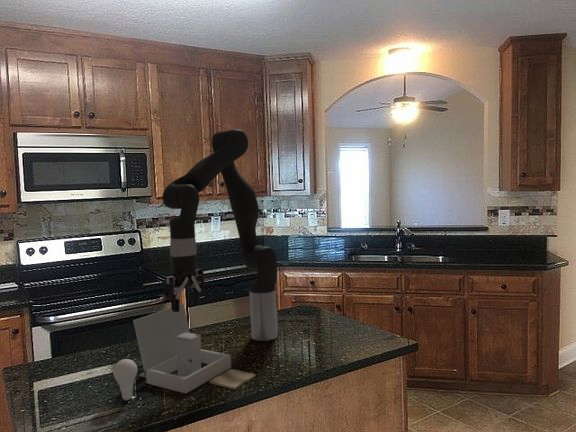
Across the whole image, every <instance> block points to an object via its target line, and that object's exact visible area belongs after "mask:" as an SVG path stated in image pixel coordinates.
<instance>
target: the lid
mask: <svg viewBox="0 0 576 432" xmlns="http://www.w3.org/2000/svg"><path fill="white" fill-rule="evenodd" d="M179 306H180V311H179V312H173V311H172V309H171V307H168V308H165V309H163V310H160V311H157V312H154V313H150V314H148V315H146V316H145V315H144V316H142V317H139V318H136V319H133V320H132V322H133V327H134V331H135V335H136V339H137V344H138V345H137V346H138V349H139V353H140V357H141V361H142V368H143V371H144V370H146V369H149V368H151V367H153V366H155V365H157V364H159V363H161V362H164V361H166V360H168V359H170V358H172V357H174V356H177V336H179V335H181V334H183V333H185V332H186V333H191V331H190V327H189V326H190V325H189V322H188V318H187V314H186V309H185V304H184V303H179Z"/></svg>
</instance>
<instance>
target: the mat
mask: <svg viewBox="0 0 576 432" xmlns="http://www.w3.org/2000/svg"><path fill="white" fill-rule="evenodd" d="M255 377H256V373H252V372H247V371H243V370H238V369H234V368H230V369H228V370H226V371H224V372H223V373H221V374H219V375H217V376H216V377H214V378H212V379H210V380H209V381H208V383H209V384H211V385H215V386H218V387H224V388H228V389H231V390H237V388H239V387H241V386H242V385H244V384H245V383H247V382H248V381H250V380H251V379H253V378H255Z"/></svg>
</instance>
